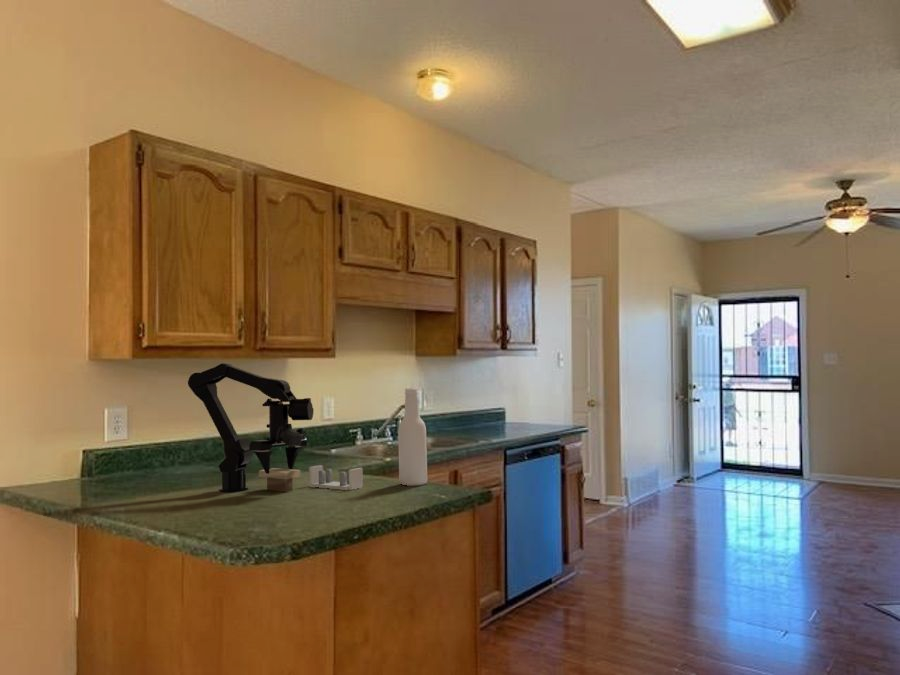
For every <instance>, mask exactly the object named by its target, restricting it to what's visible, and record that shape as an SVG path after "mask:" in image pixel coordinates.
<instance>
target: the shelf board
mask: <svg viewBox="0 0 900 675" xmlns="http://www.w3.org/2000/svg"><path fill="white" fill-rule="evenodd" d="M301 473H302V472H301V469H289V468H276V467H273V468H270V470H269V474H266V473H265V471H264V469H260V470H258V478H266V479H267V478H276V479H290V478H292V479H294V478H295V479H296V478H300V477H301V476H302V475H301Z"/></svg>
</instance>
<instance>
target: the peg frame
mask: <svg viewBox="0 0 900 675" xmlns="http://www.w3.org/2000/svg"><path fill="white" fill-rule="evenodd" d="M363 468H364V467H358V468H357V467H356V468H352V469H348V470H346V471H339V481H332V480H333V478H332V477H333V476H332V475H333V474H332V468H328V469H325V470H324V465H322V464H321V465H320V464H319V465H313V466H309V467H308V474H309V475H308V479H309V480H308V481H309V484H308V485H309V486H308V487H310V488H315V487H319V488H318V489H327V488H329V490H338V489H339V491H348V489H349V491H353V489H354V490H358V489H357V488H359V489H363V488H362V487H364V482H363V481H364V479H363V478H364V475H363V474H364V473H363V472H364V470H363Z"/></svg>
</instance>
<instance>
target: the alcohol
mask: <svg viewBox="0 0 900 675" xmlns="http://www.w3.org/2000/svg"><path fill="white" fill-rule="evenodd" d="M418 390H419V389H418V388H416V387H415V388H412V387H411V388H405V389H404V396H405V397H404V398H405V399H404V400H405V401H404V413H403V414H404V415H403V418H402V419H401V421H400V423H399V424H398V427H397V434H398V438H397V439H398V441H397V442H398V477H399V478H398V480H399V484H400V485H401V484H402V485H401V486H403V485H407V486H406V487H418V486H425V485H426V484H427V482H428V455H427V454H428V453H427V452H428V451H427V427H426V426H427V425H426V423H425V421H424V420H423V419H422V417H421V415H420V410H419V409H420V408H419V399H418Z"/></svg>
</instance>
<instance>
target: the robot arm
mask: <svg viewBox="0 0 900 675" xmlns="http://www.w3.org/2000/svg"><path fill="white" fill-rule="evenodd" d="M226 378H228V379H230V380H232V381H236V382H238V383H241V384H244V385H246V386H250V387H252V388H255V389H256V390H258V391H260V392H261V393H262V394H264V395H266V396H267V397H269V398H267V399H266V401H264V403H262V404H261V405H262V407H268V408H269V409H268V410H269V412H268V414H269V416H268V419H269V422H268V423H269V424H266V428H268V429H269V432H268V433H269V437H266V439H265V440H264V439H259V440H258V439H257V440H251V441H250V442H249V439H248V438H247V437H243V438H242V437H240V436H239V434H238V433H237V431H236V429H235V428H234V426H233V423H232V421H231V419H230V418H229V416H228V414H227V411H226V409H225V408H224V407H223V405H222V402H221V400H220V398H219V397H218V386H217V384H218V383H219V382H221V381H222V380H224V379H226ZM187 386H188V387H189V388H190V390H191V392H192V393H193V394H194V395H195V397H197V398H198V399H199V400H200V401H202V403H203V405H204V407H205V408H206V410H207V412H208V414H209V416H210V419H211V420H212V423H213V425H214V426H215V428H216V430H217V432H218V434H219V437H220V438H221V440H222V441H223V442H222V443H223V453H224V456H225V458H224V459H223V460H222V461H221V463H219V465H218V468H219V472H220V473H221V488H220V489H218V492H226V493H234V492H239V491H246V490H249V487H247V474H246V472H245V471H246V469H247V466H248V464H249V463H250V462H251V460H252V457H253V454H255V455H256V456H257V458H258V460H259V462H260V464H261V466H262V468H263V470H264V471H265V473H266V474H269V470H270V469H271V464H270V463H271V462H270V460H271V455H272V454H273V450H272V448H277V447H285V448H284V449H285V455H286V462H287V469H292V470H294V469H293V468H294V465H295V461H296V459H297V457H298V455H299V453H300V452H301V450H303V449H305V446H308V439H307V438H306V437H307V432H306V431H307V430H306V428H297V429H293V425H292V423H289V418H291V420H292V421H312V419H313V416H314V408H313V407H314V406H313V402H312V398H310V397H305V398H297V397H296V396H295V394H294V393H293V392H292V390H291V386H290V384H289V382H288V381H286V380H283V379H279V378H278V379H276V378H270V377H264V376H261V375H259V374H255V373H254V372H251V371H247V370H245V369H242V368H239V367H237V366H233V365H232V364H230V363H225V362H224V363H219V364H218V365H216V366H214V367H211V368H209V369H206V370H203V371H200V372H194V373H192V374H190V376H189V377H188V380H187ZM272 399H274V400H272Z"/></svg>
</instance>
